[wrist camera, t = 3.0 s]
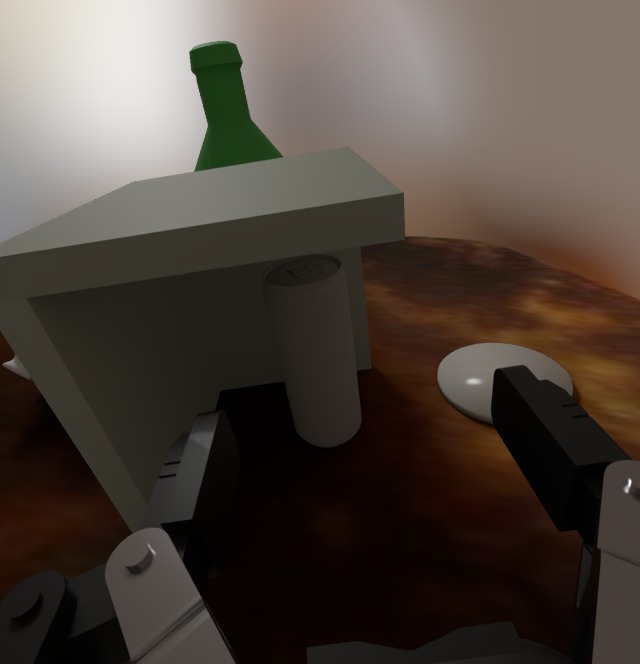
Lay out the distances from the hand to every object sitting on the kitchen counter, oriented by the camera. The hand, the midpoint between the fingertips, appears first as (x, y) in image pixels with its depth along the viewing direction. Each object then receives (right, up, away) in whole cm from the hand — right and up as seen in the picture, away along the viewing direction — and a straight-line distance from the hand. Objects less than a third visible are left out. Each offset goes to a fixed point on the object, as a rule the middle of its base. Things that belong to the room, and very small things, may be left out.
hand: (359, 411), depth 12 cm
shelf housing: (-4, -5, +16) cm, 17 cm away
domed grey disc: (+12, -1, +17) cm, 21 cm away
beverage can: (-1, -5, +16) cm, 17 cm away
